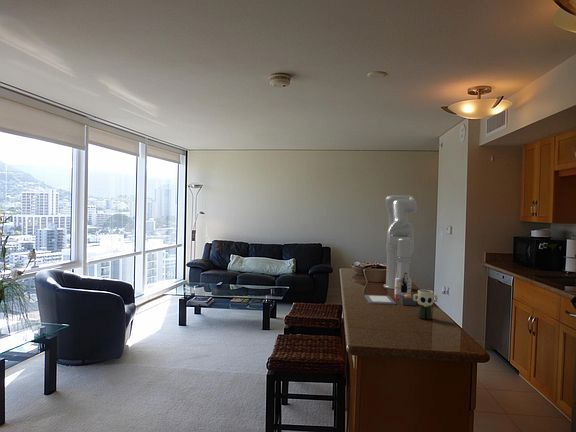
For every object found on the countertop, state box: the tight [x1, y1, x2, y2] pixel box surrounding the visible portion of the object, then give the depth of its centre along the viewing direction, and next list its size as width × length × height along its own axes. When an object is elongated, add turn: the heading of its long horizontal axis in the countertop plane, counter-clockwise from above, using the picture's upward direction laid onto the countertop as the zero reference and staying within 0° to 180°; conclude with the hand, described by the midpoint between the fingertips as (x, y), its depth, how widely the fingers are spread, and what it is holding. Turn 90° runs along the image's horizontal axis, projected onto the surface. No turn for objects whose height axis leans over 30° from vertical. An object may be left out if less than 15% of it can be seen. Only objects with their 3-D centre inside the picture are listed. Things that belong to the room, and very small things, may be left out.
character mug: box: [413, 289, 438, 320], centre depth 198 cm, size 11×7×13 cm, turn 81°
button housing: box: [399, 295, 417, 307], centre depth 227 cm, size 7×7×4 cm
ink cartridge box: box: [393, 272, 412, 301], centre depth 239 cm, size 9×5×15 cm, turn 84°
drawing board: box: [364, 294, 397, 305], centre depth 234 cm, size 18×14×1 cm
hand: (402, 291), depth 239 cm, fingers closed on ink cartridge box, 5 cm apart
